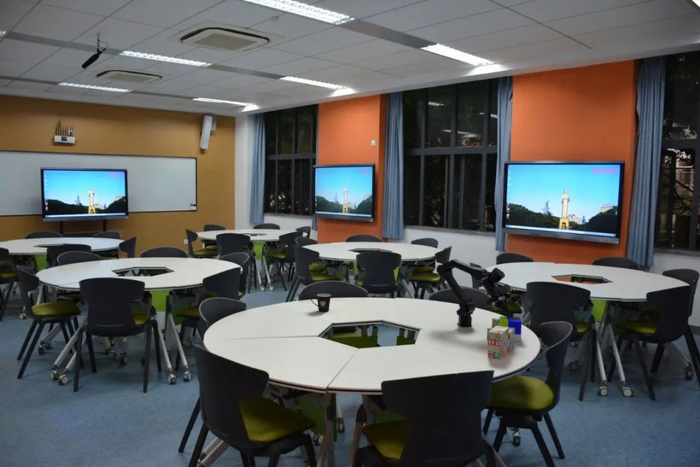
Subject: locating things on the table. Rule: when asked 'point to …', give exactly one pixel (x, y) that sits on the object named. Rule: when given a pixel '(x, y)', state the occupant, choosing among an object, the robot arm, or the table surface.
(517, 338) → the puzzle toy
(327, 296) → the coffee mug
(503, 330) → the stack of blocks
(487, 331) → the numbered block 2
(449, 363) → the table surface
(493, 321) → the numbered block 1
